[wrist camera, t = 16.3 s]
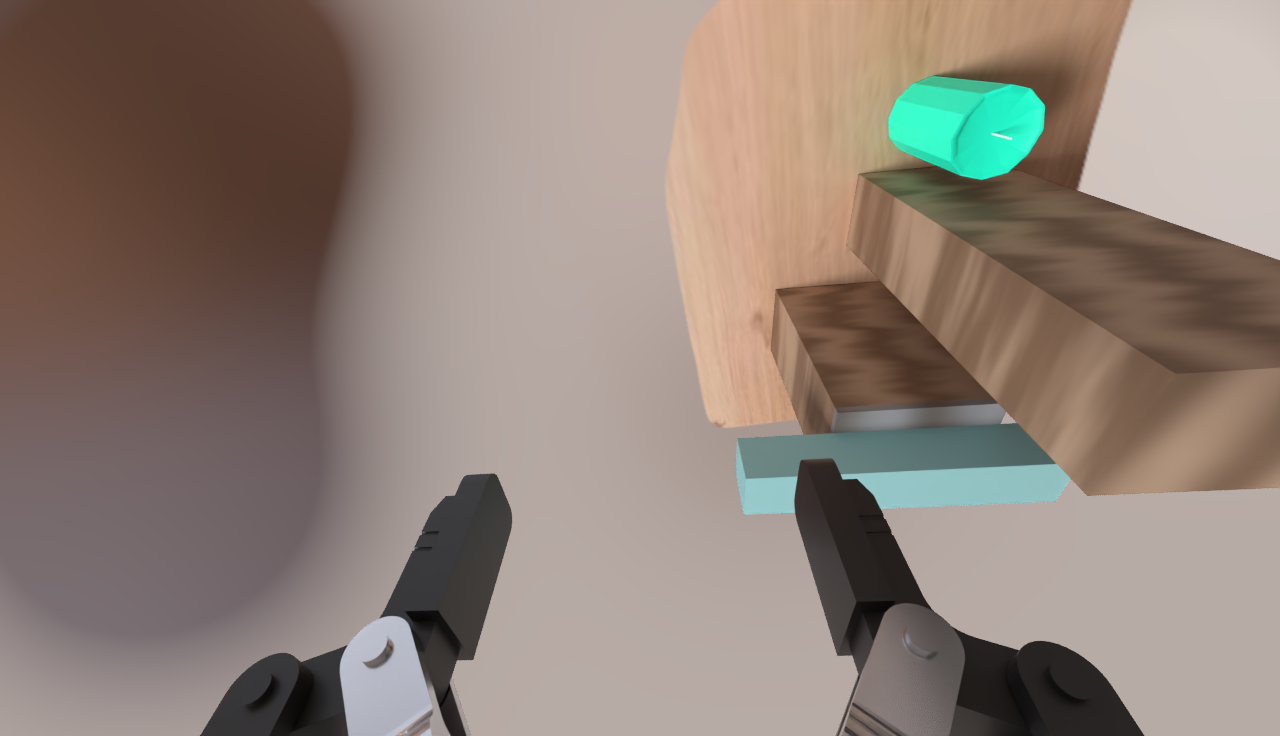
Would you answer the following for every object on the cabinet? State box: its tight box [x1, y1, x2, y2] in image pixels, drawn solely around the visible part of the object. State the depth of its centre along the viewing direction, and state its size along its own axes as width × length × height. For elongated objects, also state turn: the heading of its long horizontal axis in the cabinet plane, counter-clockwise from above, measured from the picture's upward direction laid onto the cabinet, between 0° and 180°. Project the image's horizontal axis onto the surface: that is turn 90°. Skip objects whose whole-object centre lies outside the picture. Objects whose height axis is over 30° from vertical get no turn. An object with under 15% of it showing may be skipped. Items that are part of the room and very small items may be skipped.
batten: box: [736, 423, 1071, 514], centre depth 34 cm, size 22×4×4 cm, turn 96°
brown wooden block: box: [771, 281, 1006, 435], centre depth 43 cm, size 12×8×21 cm, turn 96°
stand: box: [846, 166, 1280, 496], centre depth 31 cm, size 12×7×32 cm, turn 96°
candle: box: [888, 76, 1045, 180], centre depth 35 cm, size 6×6×12 cm
